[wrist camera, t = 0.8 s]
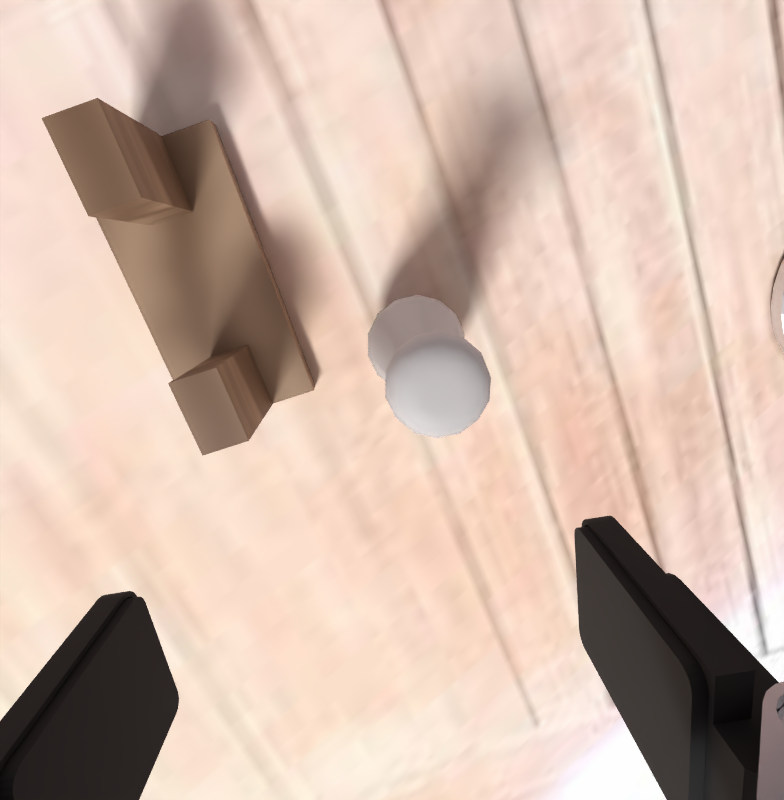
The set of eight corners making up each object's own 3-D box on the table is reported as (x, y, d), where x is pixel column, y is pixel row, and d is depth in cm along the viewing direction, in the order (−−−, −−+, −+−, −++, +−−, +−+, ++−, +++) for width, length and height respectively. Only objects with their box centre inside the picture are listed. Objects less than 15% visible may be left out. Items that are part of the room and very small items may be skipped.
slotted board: (215, 124, 27) (159, 75, 20) (315, 386, 31) (299, 424, 24) (83, 171, 27) (-19, 140, 20) (201, 423, 32) (152, 471, 25)
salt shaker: (449, 283, 30) (507, 302, 18) (464, 371, 32) (526, 444, 19) (358, 304, 30) (351, 336, 18) (377, 390, 32) (384, 475, 19)
